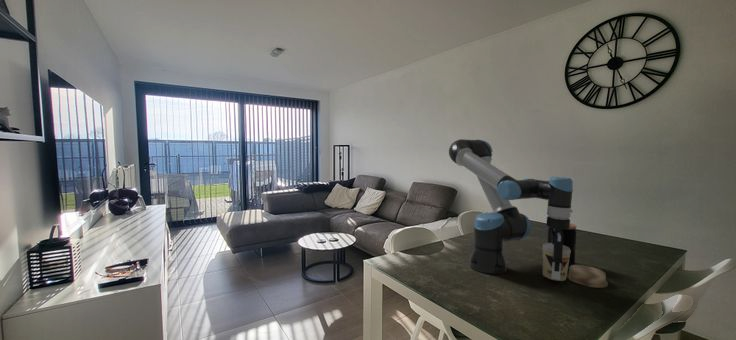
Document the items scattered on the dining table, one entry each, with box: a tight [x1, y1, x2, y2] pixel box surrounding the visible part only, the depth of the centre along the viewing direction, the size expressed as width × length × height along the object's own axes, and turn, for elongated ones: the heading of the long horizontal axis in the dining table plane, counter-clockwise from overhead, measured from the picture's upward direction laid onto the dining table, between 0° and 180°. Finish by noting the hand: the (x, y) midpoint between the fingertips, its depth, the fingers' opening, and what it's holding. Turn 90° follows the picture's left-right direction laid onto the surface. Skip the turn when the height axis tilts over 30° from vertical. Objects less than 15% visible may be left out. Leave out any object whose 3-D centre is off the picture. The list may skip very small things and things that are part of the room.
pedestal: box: [566, 264, 609, 289], centre depth 115 cm, size 13×13×4 cm
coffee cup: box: [541, 242, 571, 282], centre depth 113 cm, size 9×9×12 cm
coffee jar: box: [547, 223, 577, 268], centre depth 133 cm, size 11×11×18 cm
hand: (554, 274), depth 113 cm, fingers closed on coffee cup, 9 cm apart
